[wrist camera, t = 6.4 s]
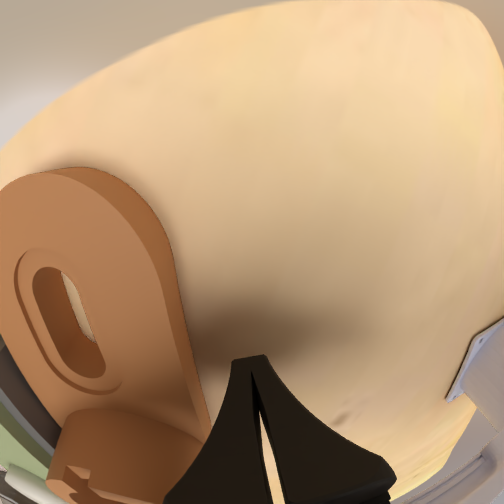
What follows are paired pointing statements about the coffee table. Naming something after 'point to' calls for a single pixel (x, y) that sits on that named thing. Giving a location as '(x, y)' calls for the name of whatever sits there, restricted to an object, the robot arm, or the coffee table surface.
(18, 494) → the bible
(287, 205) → the coffee table surface
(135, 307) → the bracket
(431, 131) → the coffee table surface
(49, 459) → the green box with button
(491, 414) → the robot arm
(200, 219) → the coffee table surface
